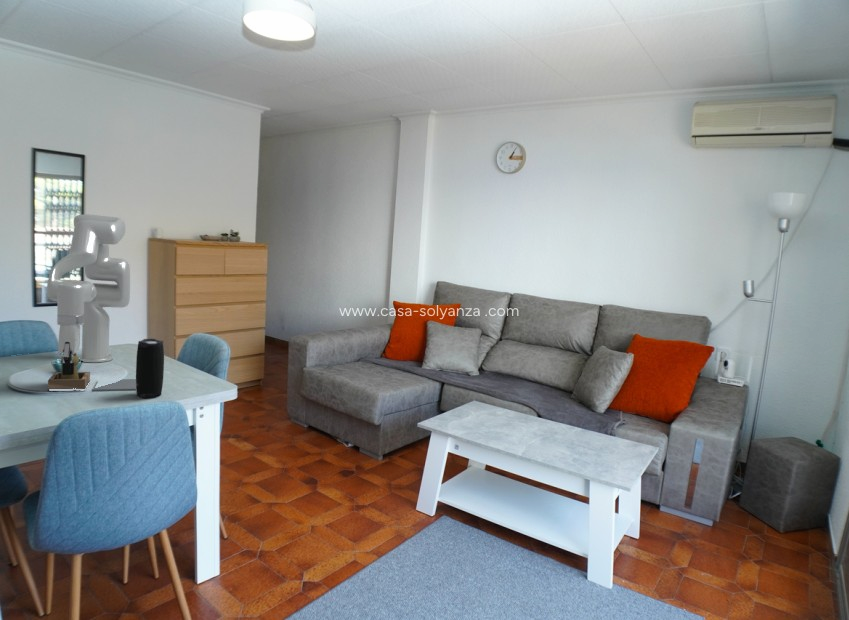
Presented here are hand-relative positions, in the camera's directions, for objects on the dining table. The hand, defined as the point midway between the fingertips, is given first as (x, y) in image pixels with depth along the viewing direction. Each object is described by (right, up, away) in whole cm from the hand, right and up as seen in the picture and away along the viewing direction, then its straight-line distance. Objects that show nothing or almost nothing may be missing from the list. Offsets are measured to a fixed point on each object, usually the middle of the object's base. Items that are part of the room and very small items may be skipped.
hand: (69, 371), depth 184 cm
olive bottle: (-1, -6, +1) cm, 6 cm away
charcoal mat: (+12, -6, +7) cm, 15 cm away
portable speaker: (+27, -8, 0) cm, 28 cm away
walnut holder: (0, -5, +1) cm, 5 cm away
